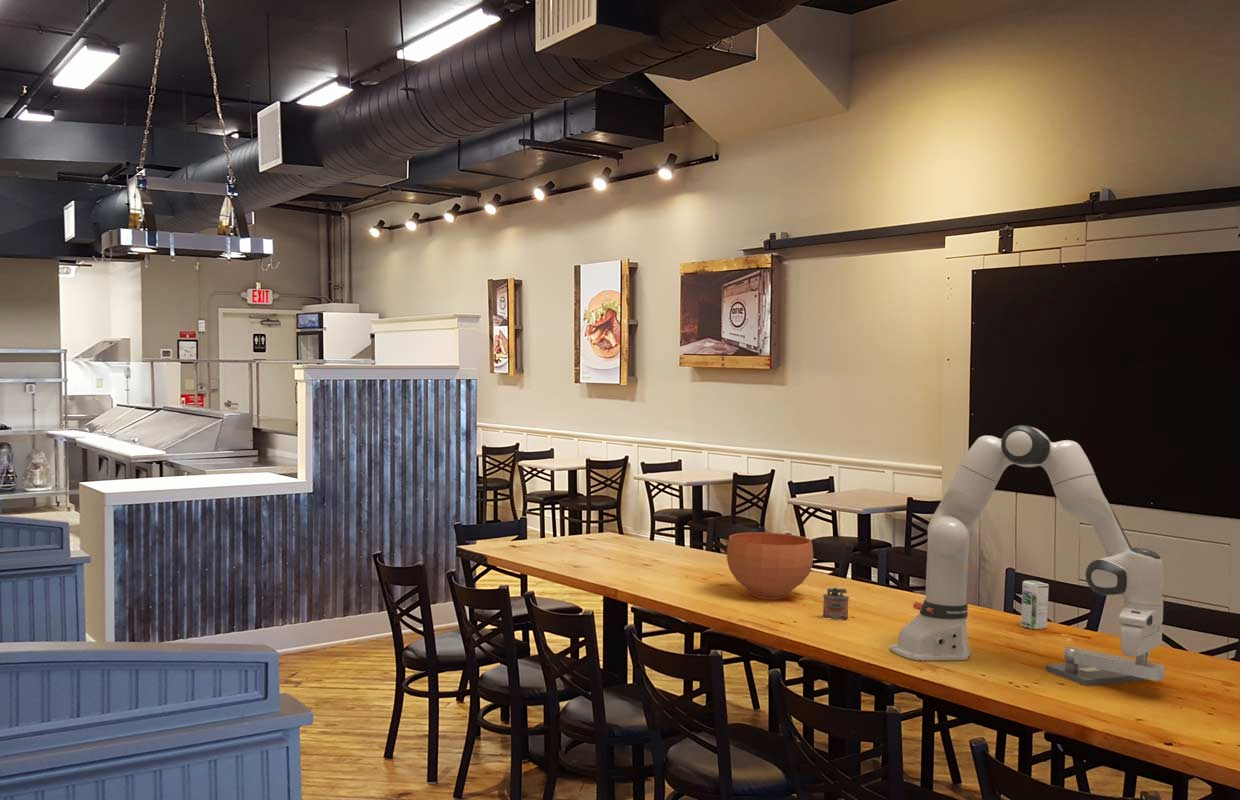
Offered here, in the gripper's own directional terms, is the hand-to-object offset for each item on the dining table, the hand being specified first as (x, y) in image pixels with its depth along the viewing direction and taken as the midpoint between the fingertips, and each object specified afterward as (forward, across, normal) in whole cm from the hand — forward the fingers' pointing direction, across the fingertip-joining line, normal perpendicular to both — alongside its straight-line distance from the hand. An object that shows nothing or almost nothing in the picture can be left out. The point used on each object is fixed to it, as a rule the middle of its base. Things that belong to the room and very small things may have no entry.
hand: (1141, 667), depth 254 cm
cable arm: (+1, +4, -6) cm, 7 cm away
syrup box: (+5, -46, -46) cm, 65 cm away
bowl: (+4, -17, -128) cm, 129 cm away
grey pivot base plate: (+5, -6, -12) cm, 14 cm away
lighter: (+5, -5, -93) cm, 93 cm away
